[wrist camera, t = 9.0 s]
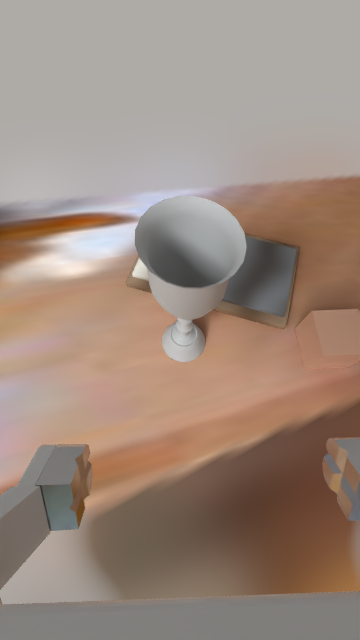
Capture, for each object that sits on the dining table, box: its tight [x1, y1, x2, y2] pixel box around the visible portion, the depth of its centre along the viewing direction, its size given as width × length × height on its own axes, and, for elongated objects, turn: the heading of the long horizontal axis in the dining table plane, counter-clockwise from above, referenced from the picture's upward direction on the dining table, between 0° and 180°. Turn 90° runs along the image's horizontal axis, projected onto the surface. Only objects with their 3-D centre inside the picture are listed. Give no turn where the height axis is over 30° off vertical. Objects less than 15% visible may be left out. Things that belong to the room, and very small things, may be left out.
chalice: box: [135, 196, 247, 362], centre depth 26 cm, size 7×7×18 cm
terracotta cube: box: [295, 309, 360, 369], centre depth 32 cm, size 5×5×5 cm
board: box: [126, 234, 300, 329], centre depth 38 cm, size 20×12×2 cm, turn 73°
